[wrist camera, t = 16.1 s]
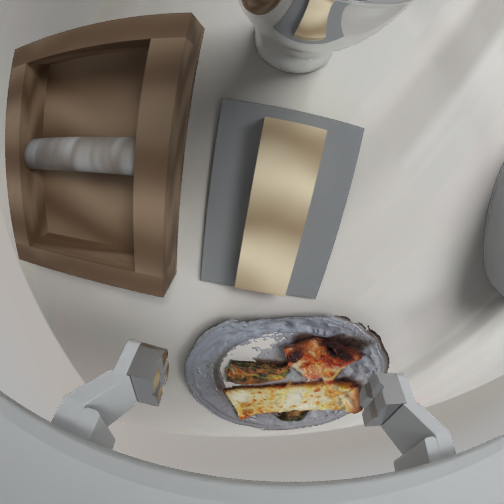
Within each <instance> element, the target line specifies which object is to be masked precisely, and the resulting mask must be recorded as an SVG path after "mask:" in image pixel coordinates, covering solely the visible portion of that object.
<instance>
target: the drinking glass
mask: <svg viewBox="0 0 504 504" xmlns="http://www.w3.org/2000/svg"><path fill="white" fill-rule="evenodd" d="M413 1H415V0H238V3H239V5H240V7H241V9H242V10H243V12H244V13H245V15H246V16H247V18H248V19H249V21H250V22H251V23H252V25H253V26H254V27H255V28H256V29H255V44H256V48H257V50H258V52H259V53H260V55H261V56H262V58H263V59H264V60H265V61H266V62H268V63H269V64H270V65H272V66H273V67H275V68H277V69H279V70H282V71H285V72H290V73H307V72H311V71H314V70H316V69H318V68H320V67H322V66H323V65H324V64H326V63H327V62H328V60H329V59H330V58H331V56H332V54H333V52H335V51H339V50H342V49H345V48H348V47H351V46H353V45H356V44H358V43H361V42H362V41H364V40H366V39H368V38H369V37H371V36H373V35H374V34H376V33H377V32H379V31H380V30H382V29H383V28H384V27H385V26H387V25H388V24H389V23H391V22H392V21H393V20H394V19H395V18H396V17H397V16H399V15H400V14H401V13H402V12H403V11H404V10H405V9H406V8H407V7H408V6H409V5H410V4H411V3H412V2H413Z"/></svg>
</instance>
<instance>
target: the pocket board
mask: <svg viewBox="0 0 504 504" xmlns="http://www.w3.org/2000/svg"><path fill="white" fill-rule="evenodd" d="M203 34H204V27H203V26H202V25H201V24H200V22H199V21H198V20H197V19H196V17H195V16H194V15H193V14H192V13H170V14H156V15H146V16H137V17H130V18H123V19H117V20H111V21H106V22H101V23H96V24H92V25H88V26H83V27H79V28H76V29H72V30H68V31H65V32H62V33H58V34H55V35H52V36H49V37H46V38H43V39H41V40H38V41H35V42H32V43H30V44H27V45H25V46H22V47H20V48H18V49H15V52H14V57H13V62H12V68H11V74H10V81H9V88H8V97H7V109H6V127H5V158H6V177H7V189H8V198H9V206H10V213H11V220H12V226H13V232H14V237H15V242H16V246H17V251H18V255H19V259H21V260H24V261H27V262H30V263H33V264H36V265H40V266H43V267H46V268H49V269H53V270H56V271H60V272H63V273H67V274H70V275H74V276H77V277H81V278H85V279H88V280H92V281H96V282H100V283H104V284H108V285H112V286H116V287H120V288H124V289H128V290H132V291H136V292H141V293H145V294H150V295H154V296H159V297H164V295H165V293H166V291H167V289H168V288H169V286H170V284H171V282H172V280H173V278H174V276H175V274H176V265H177V240H178V221H179V206H180V193H181V181H182V171H183V161H184V152H185V143H186V135H187V127H188V120H189V112H190V106H191V99H192V93H193V86H194V81H195V75H196V69H197V64H198V58H199V53H200V48H201V43H202V39H203Z"/></svg>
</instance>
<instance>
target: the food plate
mask: <svg viewBox="0 0 504 504" xmlns="http://www.w3.org/2000/svg"><path fill="white" fill-rule="evenodd" d="M324 316H325V317H321V316H311V317H306V316H305V317H281V318H280V319H263V318H261V319H258V320H255V321H254V320H253V321H249V322H245V321H242V322H238V321H239V320H234V319H230V320H227V321H225V322H222V323H220V324H219V325H217V326H214V327H212V328H211V329H209V330H207V331H205V332H204V333H203V335H202V336H200V337H199V338H198V340H197V342H196V344H195V345H194V346H193V347H194V348H193V350H192V351H191V353H190V355H189V356H188V357H187V358H186V360H187V361H186V364H185V376H186V380H187V383H188V386H189V387H190V390H191V391H192V393H193V395H194V397H195V399H196V401H197V402H199V403H200V404H201V405H203V406H204V407H205V408H207V409H208V410H209V411H210V412H212V413H213V414H215V415H217V416H218V417H220V418H222V419H224V420H227V421H229V422H232V423H235V424H239V425H245V426H250V427H254V428H265V429H262V430H288V429H298V428H305V427H306V426H308V427H312V426H313V425H315V426H317V425H322V424H325V423H328V422H331V421H334V420H336V419H339V418H341V417H342V416H344V415H346V414H349V413H354V414H355V413H358V412H360V411H362V409H363V407H362V406H361V405H360V401H359V395H360V391H361V389H362V387H363V386H364V385H365V384H367V383H368V382H369V378H370V376H371V375H372V374H374V373H388V372H387V370H388V368H389V357H388V353H387V352H386V350H385V348H384V346H383V344H382V341H381V338H380V336H379V335H377V334H376V332H374V331H373V330H370V329H369V331H368V330H366V328H365V327H364V326H363V324H361V323H352V322H350V319H349V318H347V317H344V316H331V315H330V316H329V315H324ZM326 316H329V317H326ZM283 325H286V326H283ZM367 327H368V328H369V325H368V326H367ZM274 332H277V333H275V334H274V335H272V336H268V335H267V336H263V335H265V334H270V333H272V334H273V333H274ZM279 333H283V335H278V336H276V334H279ZM290 333H293V334H291V335H290ZM298 333H299V334H298ZM260 337H262V338H264V340H267V339H265V337H270V338H273V337H274V339H275V340H276V341H277V342H278V344H276V345H275V344H271V345H270V346H271V347H272V349H270V348H267V349H265V350H264V349H262V350H261V349H260V348H259V347H255V349H256V351H258V350H257V349H258V348H259V349H260V350H259V351H261V353H260V354H259V355H258V357H257V359H256V358H255V357H253V358H252V359H254V360H255V361H256V362H254V361H253V362H250V361H237V360H236V361H234V360H231V359H230V361H231V363H230V366H228V367H226V371H225V372H226V374H225V375H227V376H228V377H227V379H226V380H225V381H226V382H229V381H230V382H234V383H235V384H242V385H241V386H232V388H225V384H224V381H223V379H222V375H221V372H220V367H221V362H223V357H226V356H227V352H229V351H230V350H233V349H236V348H235V346H238V345H241V346H242V345H244V344H249V343H252V342H251V341H248V339H253V338H254V339H257V338H260ZM276 337H279V339H278V338H276ZM282 337H286V339H283V340H282V342H279V340H280V339H281V338H282ZM254 341H255V340H254ZM255 342H257V341H255ZM274 346H276V348H274ZM252 348H253V349H254V347H252ZM239 353H240V352H239ZM267 353H268V355H266V354H267ZM231 355H232V354H231ZM274 360H275V361H274ZM293 377H294V378H293ZM243 384H245V385H243ZM248 384H250V385H251V386H250V385H248Z"/></svg>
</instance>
